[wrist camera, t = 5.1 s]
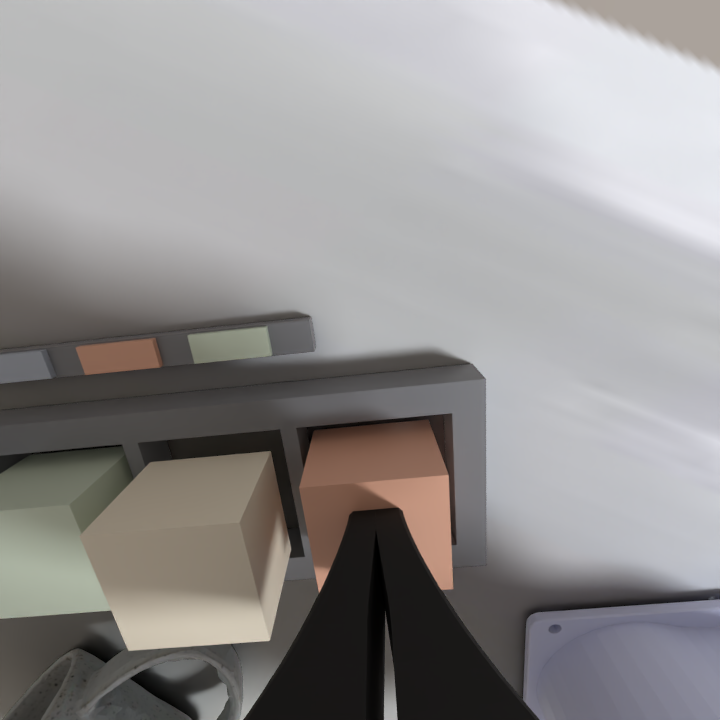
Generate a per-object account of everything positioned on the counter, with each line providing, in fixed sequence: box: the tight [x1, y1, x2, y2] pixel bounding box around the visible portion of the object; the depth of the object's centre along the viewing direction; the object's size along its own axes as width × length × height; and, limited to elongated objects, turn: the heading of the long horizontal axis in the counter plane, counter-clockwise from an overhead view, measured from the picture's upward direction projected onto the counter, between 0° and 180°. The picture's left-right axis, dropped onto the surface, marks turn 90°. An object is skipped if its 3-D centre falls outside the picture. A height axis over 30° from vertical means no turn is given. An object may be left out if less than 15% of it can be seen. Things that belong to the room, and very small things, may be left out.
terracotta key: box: [299, 420, 453, 592], centre depth 11 cm, size 4×4×3 cm
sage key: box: [0, 446, 134, 619], centre depth 12 cm, size 4×4×3 cm
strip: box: [0, 317, 316, 384], centre depth 12 cm, size 12×1×1 cm, turn 96°
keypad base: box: [0, 364, 486, 581], centre depth 13 cm, size 22×7×1 cm, turn 96°
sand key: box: [79, 451, 291, 651], centre depth 10 cm, size 4×4×3 cm
